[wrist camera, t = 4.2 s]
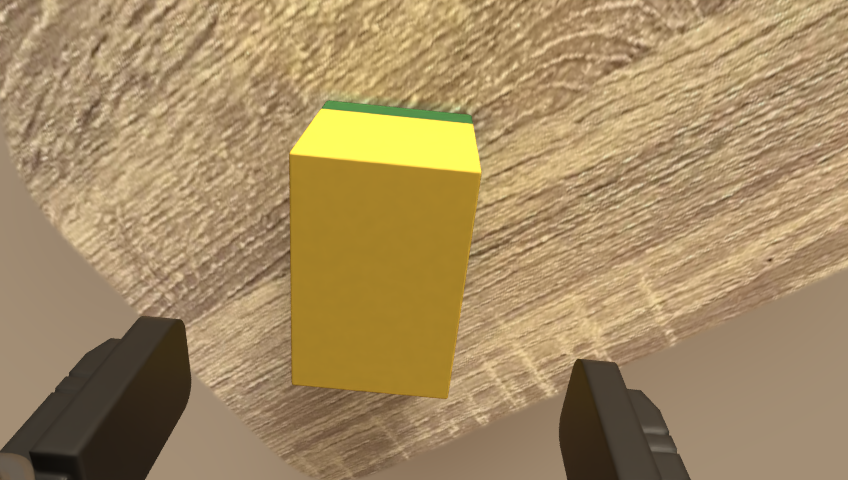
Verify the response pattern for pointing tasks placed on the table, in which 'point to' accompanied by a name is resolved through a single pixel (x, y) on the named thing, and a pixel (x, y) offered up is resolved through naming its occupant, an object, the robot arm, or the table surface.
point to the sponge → (380, 247)
